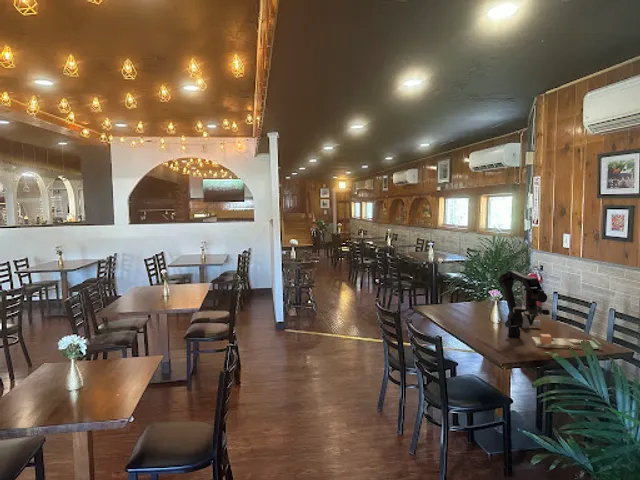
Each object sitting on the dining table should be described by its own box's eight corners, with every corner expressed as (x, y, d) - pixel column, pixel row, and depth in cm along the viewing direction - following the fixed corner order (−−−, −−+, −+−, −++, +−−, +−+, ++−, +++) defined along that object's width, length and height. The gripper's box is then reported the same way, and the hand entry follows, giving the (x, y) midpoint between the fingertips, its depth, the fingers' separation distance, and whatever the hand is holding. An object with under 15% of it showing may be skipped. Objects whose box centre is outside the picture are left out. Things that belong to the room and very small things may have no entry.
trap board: (536, 346, 247) (536, 340, 247) (531, 340, 260) (531, 334, 259) (601, 350, 238) (601, 344, 238) (593, 343, 251) (593, 337, 250)
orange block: (541, 343, 247) (542, 336, 247) (539, 340, 252) (540, 333, 252) (551, 343, 246) (551, 336, 246) (549, 341, 251) (549, 334, 250)
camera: (541, 329, 281) (541, 307, 280) (522, 329, 284) (522, 307, 283) (537, 326, 290) (537, 304, 289) (519, 325, 292) (519, 304, 291)
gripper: (516, 301, 244) (515, 328, 245) (552, 302, 239) (551, 330, 240) (512, 297, 255) (512, 323, 256) (547, 298, 250) (547, 324, 251)
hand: (530, 325), depth 250 cm, fingers closed
